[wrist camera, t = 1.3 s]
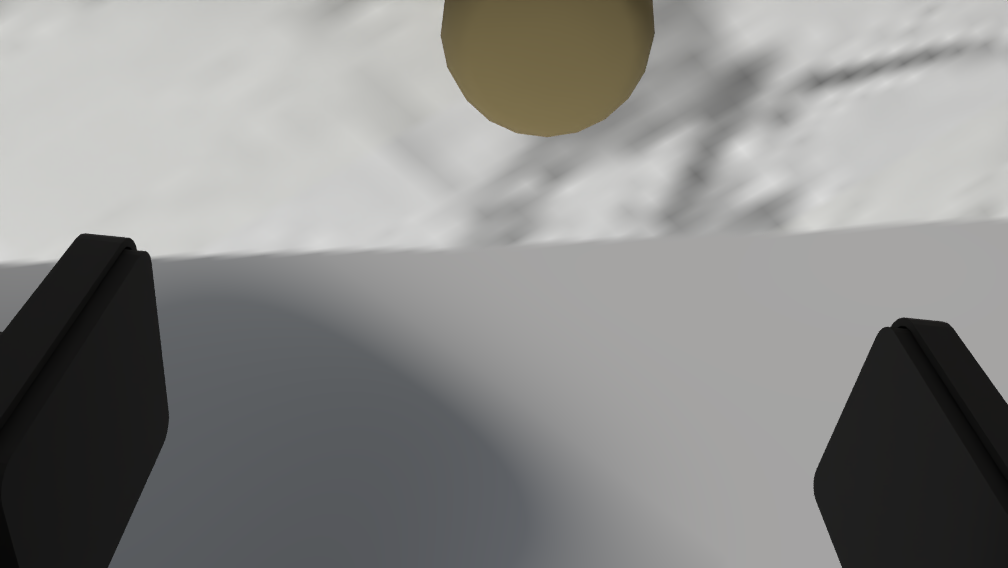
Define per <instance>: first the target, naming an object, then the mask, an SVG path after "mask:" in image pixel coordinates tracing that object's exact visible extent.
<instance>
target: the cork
mask: <svg viewBox="0 0 1008 568" xmlns="http://www.w3.org/2000/svg"><path fill="white" fill-rule="evenodd" d="M654 34H655V31H654V16H653V1H652V0H445V3H444V12H443V21H442V29H441V39H442V44H443V48H444V53H445V58H446V63H447V67H448V69H449V71H450V73H451V74H452V76H453V78H454V80H455V81H456V83H457V85H458V86H459V88H460V90H461V92H462V93H463V95H464V97H465V98H466V100H467V101H468V102H469V103H470V104H472V105H473V106H474V107H475V108H476V109H477V110H478V111H479V112H480V113H482V114H483V115H484V116H485V117H486V118H487V119H488V120H489V121H491V122H494V123H496V124H498V125H500V126H502V127H505V128H507V129H509V130H511V131H513V132H515V133H520V134H527V135H535V136H542V137H551V136H557V135H564V134H570V133H576V132H579V131H581V130H583V129H585V128H587V127H590V126H592V125H594V124H596V123H598V122H600V121H602V120H604V119H606V118H607V117H608V116H609V115H610V114H611V113H613V112H614V111H615V110H616V109H617V108H618V107H619V106H621V105H622V104H623V103H624V102H625V101H626V100H627V99H628V98H629V97H630V95H631V93H632V92H633V90H634V89H635V87H636V85H637V84H638V82H639V81H640V79H641V77H642V76H643V74H644V72H645V69H646V66H647V62H648V58H649V54H650V50H651V46H652V42H653V38H654Z"/></svg>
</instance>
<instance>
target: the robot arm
mask: <svg viewBox="0 0 1008 568" xmlns="http://www.w3.org/2000/svg"><path fill="white" fill-rule="evenodd" d="M168 422H169V411H168V403H167V394H166V385H165V376H164V367H163V360H162V350H161V341H160V332H159V324H158V315H157V306H156V297H155V289H154V280H153V271H152V263H151V258H150V255H149V253H148V252H146V251H137V248H136V245H135V243H134V241H133V240H132V239H131V238H125V237H115V236H106V235H96V234H86V233H85V234H80V235H79V236H78V237H77V238H76V239H75V240H74V242H73V243H72V244H71V246H70V247H69V248H68V249H67V251H66V252H65V253H64V255H63V256H62V257H61V258H60V260H59V261H58V262H57V263H56V265H55V266H54V267H53V269H52V270H51V271H50V272H49V274H48V275H47V276H46V278H45V279H44V280H43V281H42V283H41V284H40V285H39V287H38V288H37V289H36V290H35V292H34V293H33V294H32V296H31V297H30V298H29V299H28V301H27V302H26V303H25V304H24V306H23V307H22V308H21V310H20V311H19V312H18V313H17V315H16V316H15V317H14V319H13V320H12V321H11V322H10V324H9V325H8V326H7V328H6V329H5V330H4V331H3V332H0V568H108V566H109V564H110V562H111V559H112V557H113V555H114V553H115V550H116V548H117V546H118V544H119V542H120V539H121V537H122V535H123V533H124V530H125V528H126V526H127V524H128V521H129V519H130V517H131V515H132V513H133V510H134V508H135V506H136V504H137V502H138V499H139V497H140V495H141V493H142V491H143V488H144V486H145V484H146V482H147V479H148V477H149V475H150V473H151V471H152V468H153V466H154V464H155V462H156V459H157V457H158V455H159V453H160V450H161V448H162V446H163V444H164V441H165V438H166V434H167V430H168ZM814 495H815V499H816V502H817V504H818V507H819V510H820V512H821V515H822V517H823V520H824V522H825V525H826V527H827V530H828V532H829V535H830V538H831V540H832V543H833V545H834V548H835V550H836V553H837V555H838V558H839V561H840V563H841V566H842V568H1008V404H1007V403H1006V402H1005V400H1004V399H1003V397H1002V396H1001V395H1000V393H999V392H998V390H997V389H996V388H995V386H994V385H993V384H992V382H991V381H990V379H989V378H988V376H987V375H986V374H985V372H984V371H983V370H982V368H981V367H980V365H979V364H978V363H977V361H976V360H975V358H974V357H973V355H972V354H971V353H970V351H969V350H968V349H967V347H966V346H965V344H964V343H963V342H962V340H961V339H960V337H959V336H958V334H957V333H956V332H955V330H954V329H953V328H952V327H951V326H950V325H949V324H948V323H945V322H941V321H932V320H922V319H913V318H900V319H898V320H896V321H895V322H894V323H893V324H892V326H891V327H885V328H882V329H881V330H880V331H879V333H878V335H877V336H876V338H875V341H874V343H873V345H872V347H871V349H870V352H869V354H868V356H867V358H866V361H865V363H864V365H863V367H862V369H861V372H860V374H859V376H858V378H857V381H856V383H855V385H854V387H853V389H852V392H851V394H850V396H849V398H848V401H847V403H846V405H845V407H844V409H843V412H842V414H841V416H840V418H839V421H838V423H837V425H836V427H835V429H834V432H833V434H832V436H831V438H830V441H829V443H828V445H827V448H826V449H825V452H824V454H823V456H822V458H821V461H820V463H819V465H818V468H817V470H816V472H815V477H814Z"/></svg>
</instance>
